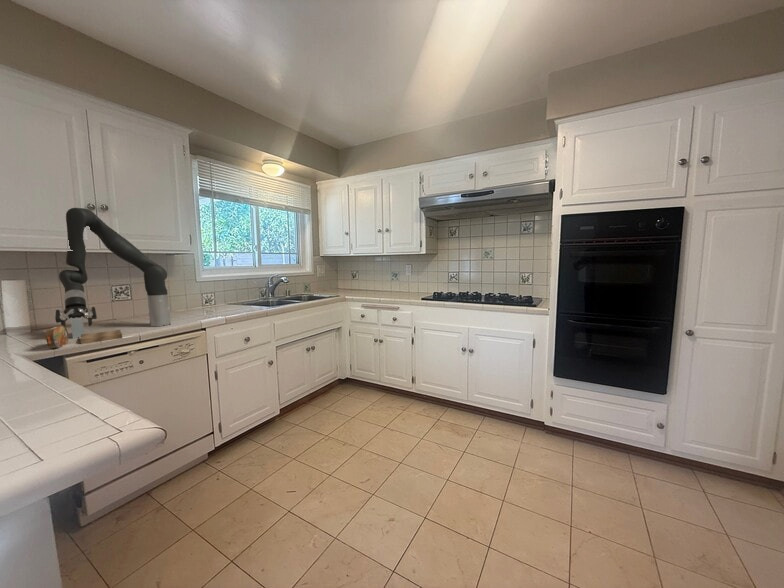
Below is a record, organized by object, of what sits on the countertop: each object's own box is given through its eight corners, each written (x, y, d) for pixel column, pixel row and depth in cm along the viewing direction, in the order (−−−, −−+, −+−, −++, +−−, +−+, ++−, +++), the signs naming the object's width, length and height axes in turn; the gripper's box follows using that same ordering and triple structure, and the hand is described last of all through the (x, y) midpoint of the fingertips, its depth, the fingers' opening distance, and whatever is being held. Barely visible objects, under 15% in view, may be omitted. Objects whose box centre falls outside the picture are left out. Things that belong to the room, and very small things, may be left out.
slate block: (84, 335, 158) (82, 317, 157) (84, 337, 155) (82, 318, 154) (73, 337, 155) (71, 318, 154) (72, 338, 152) (70, 319, 151)
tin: (56, 350, 132) (53, 329, 131) (45, 351, 130) (42, 330, 130) (70, 342, 145) (67, 323, 144) (60, 343, 143) (58, 324, 143)
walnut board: (120, 333, 161) (119, 329, 160) (122, 338, 150) (122, 334, 150) (81, 338, 151) (81, 334, 151) (81, 343, 141) (80, 339, 141)
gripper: (53, 297, 154) (54, 324, 147) (94, 294, 164) (97, 319, 156) (56, 307, 158) (57, 333, 151) (95, 304, 168) (98, 329, 161)
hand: (77, 326), depth 154 cm, fingers open, 8 cm apart
